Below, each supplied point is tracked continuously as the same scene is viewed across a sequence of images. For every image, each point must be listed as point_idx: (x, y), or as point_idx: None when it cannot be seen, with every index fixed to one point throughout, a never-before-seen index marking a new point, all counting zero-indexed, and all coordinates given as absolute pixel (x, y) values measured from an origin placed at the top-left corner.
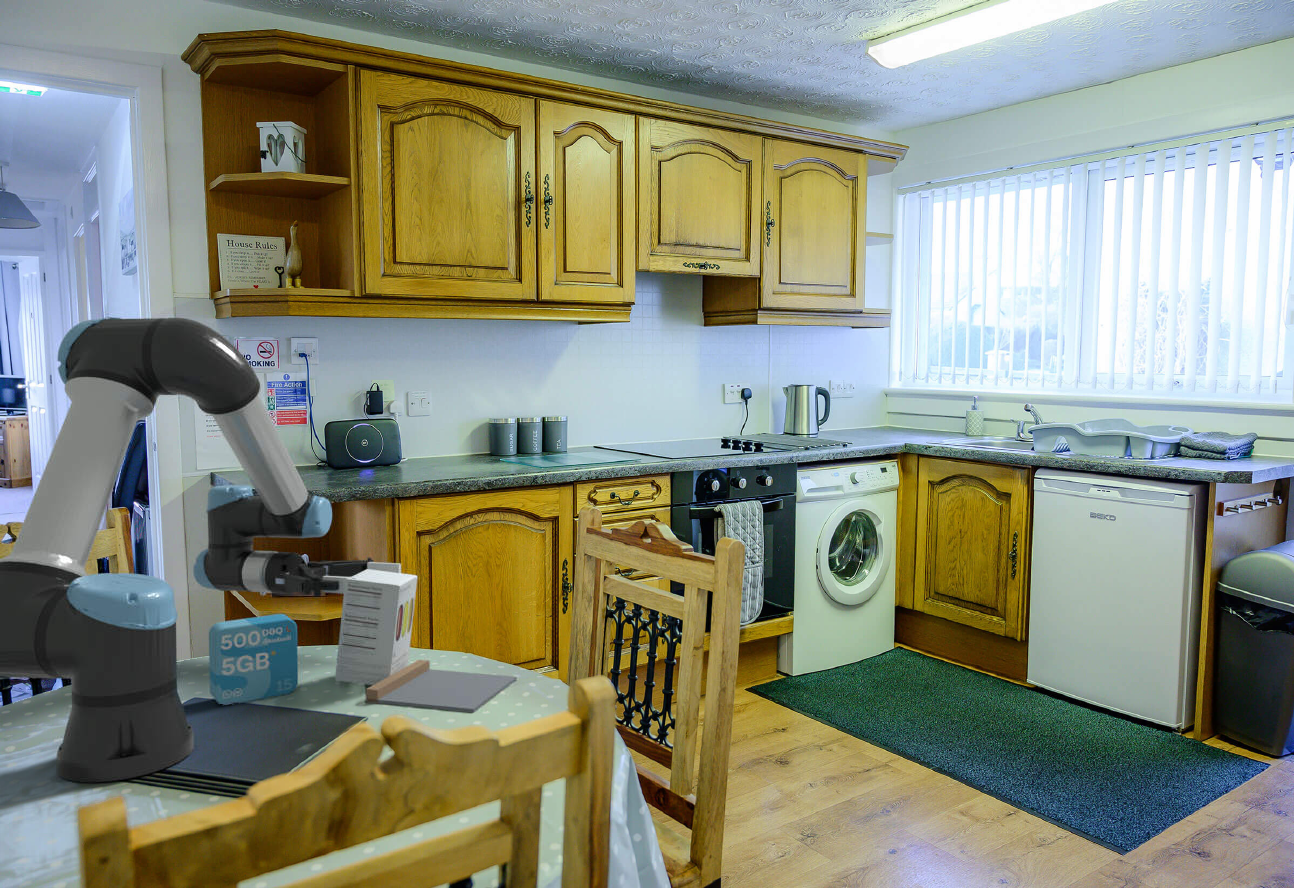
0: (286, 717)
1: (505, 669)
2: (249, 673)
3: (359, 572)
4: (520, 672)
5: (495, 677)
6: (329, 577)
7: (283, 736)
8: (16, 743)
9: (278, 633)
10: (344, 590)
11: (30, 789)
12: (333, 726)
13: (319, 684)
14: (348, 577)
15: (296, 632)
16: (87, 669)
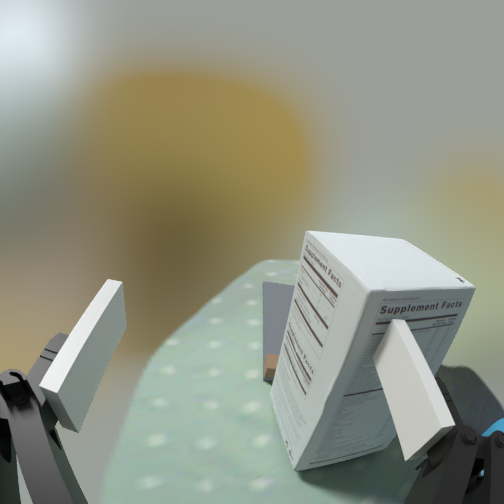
0: (472, 426)
1: (227, 296)
2: None
3: (65, 458)
4: (235, 284)
5: (273, 295)
6: (442, 401)
7: (490, 394)
8: None
9: None
10: (465, 312)
11: None
12: (455, 375)
13: (380, 484)
14: (410, 343)
15: (487, 430)
16: None
